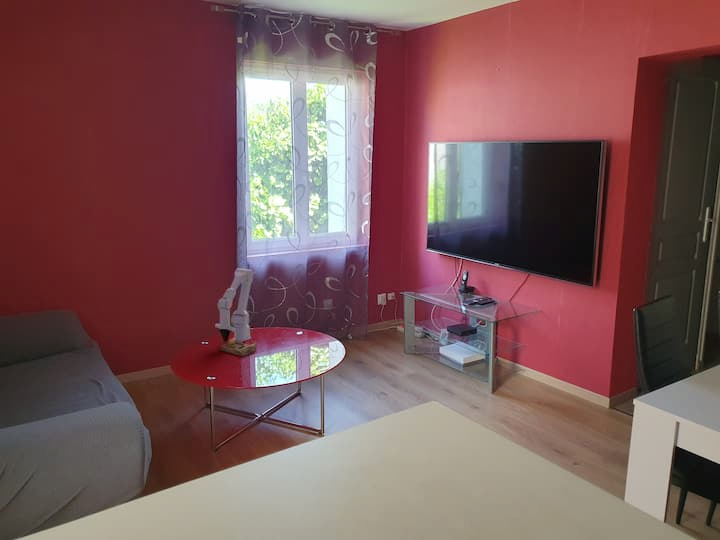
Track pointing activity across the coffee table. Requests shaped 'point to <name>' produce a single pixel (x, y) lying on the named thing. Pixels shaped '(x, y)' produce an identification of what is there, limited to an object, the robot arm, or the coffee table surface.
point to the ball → (231, 341)
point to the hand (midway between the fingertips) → (225, 341)
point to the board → (238, 348)
